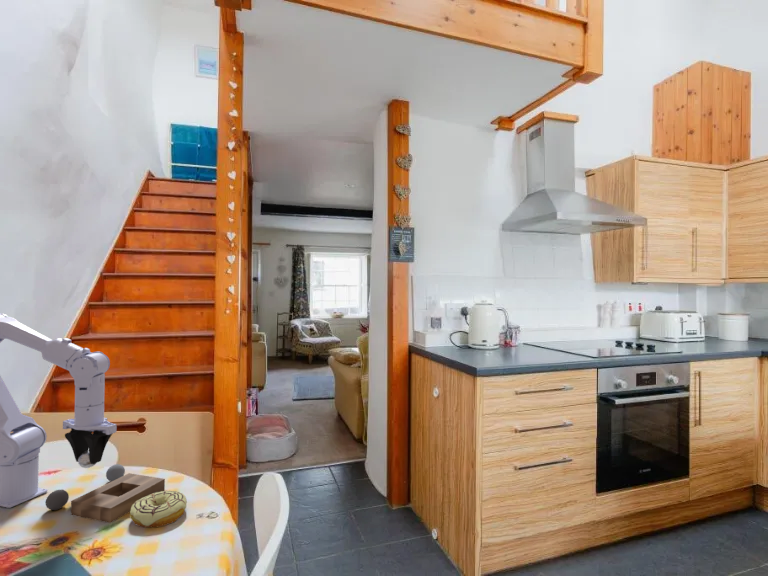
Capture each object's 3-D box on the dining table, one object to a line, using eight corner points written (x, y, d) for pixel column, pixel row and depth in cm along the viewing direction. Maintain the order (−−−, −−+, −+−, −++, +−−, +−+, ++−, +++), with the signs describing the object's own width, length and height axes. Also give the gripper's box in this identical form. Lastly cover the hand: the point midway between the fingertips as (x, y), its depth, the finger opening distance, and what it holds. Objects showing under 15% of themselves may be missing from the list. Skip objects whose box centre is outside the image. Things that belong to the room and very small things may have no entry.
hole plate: (70, 515, 86) (71, 500, 86) (128, 485, 99) (129, 473, 99) (110, 523, 83) (110, 508, 83) (164, 491, 96) (164, 478, 96)
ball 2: (101, 483, 100) (102, 467, 100) (116, 476, 104) (116, 460, 104) (114, 485, 99) (114, 469, 99) (128, 478, 103) (128, 462, 103)
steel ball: (73, 469, 94) (74, 452, 94) (90, 463, 98) (90, 446, 98) (86, 471, 93) (86, 454, 93) (102, 464, 97) (103, 448, 97)
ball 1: (40, 512, 87) (40, 493, 87) (60, 503, 91) (60, 485, 91) (54, 514, 86) (54, 496, 86) (73, 505, 90) (73, 487, 90)
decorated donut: (145, 538, 78) (145, 518, 78) (120, 520, 84) (121, 502, 84) (195, 513, 87) (196, 496, 87) (170, 499, 93) (170, 483, 93)
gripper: (128, 402, 97) (127, 458, 97) (83, 397, 101) (82, 451, 101) (100, 410, 91) (99, 470, 90) (53, 404, 95) (52, 462, 94)
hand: (88, 461), depth 95 cm, fingers closed on steel ball, 4 cm apart
